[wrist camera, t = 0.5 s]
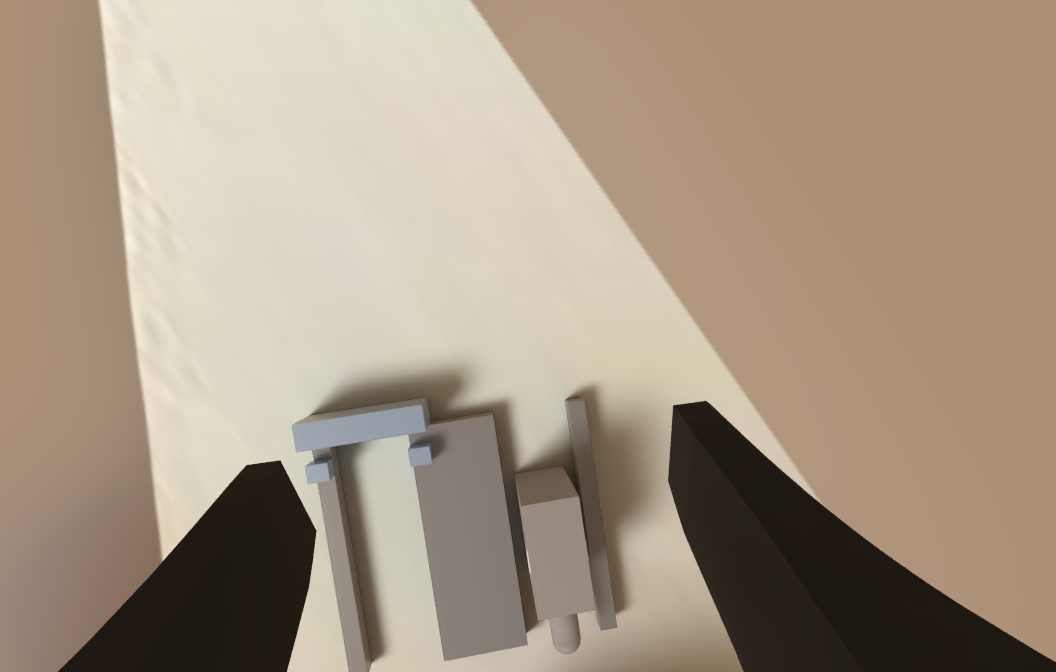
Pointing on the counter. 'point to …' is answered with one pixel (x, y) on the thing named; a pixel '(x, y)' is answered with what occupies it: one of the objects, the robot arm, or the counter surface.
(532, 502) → the tall taupe box
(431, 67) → the counter surface
